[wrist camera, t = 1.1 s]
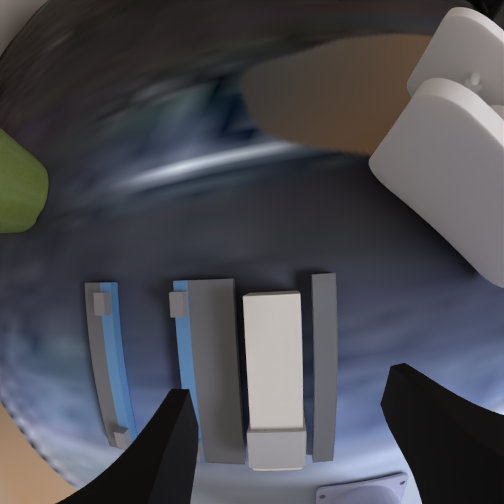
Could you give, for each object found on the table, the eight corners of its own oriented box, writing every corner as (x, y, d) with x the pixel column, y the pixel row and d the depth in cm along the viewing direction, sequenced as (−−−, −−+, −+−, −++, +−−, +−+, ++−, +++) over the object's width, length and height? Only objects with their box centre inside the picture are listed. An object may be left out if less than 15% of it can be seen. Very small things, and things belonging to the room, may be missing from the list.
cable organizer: (348, 166, 20) (405, 67, 8) (407, 82, 20) (459, -10, 8) (487, 290, 18) (595, 295, 7) (525, 193, 18) (610, 159, 7)
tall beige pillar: (302, 445, 19) (305, 472, 15) (254, 447, 19) (249, 473, 16) (300, 290, 20) (304, 293, 16) (246, 292, 20) (238, 297, 16)
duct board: (331, 453, 18) (334, 467, 16) (115, 440, 20) (104, 450, 18) (332, 273, 20) (338, 273, 18) (92, 282, 21) (76, 283, 19)
